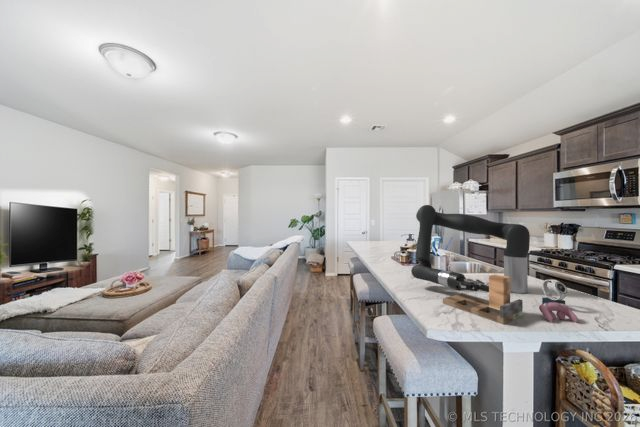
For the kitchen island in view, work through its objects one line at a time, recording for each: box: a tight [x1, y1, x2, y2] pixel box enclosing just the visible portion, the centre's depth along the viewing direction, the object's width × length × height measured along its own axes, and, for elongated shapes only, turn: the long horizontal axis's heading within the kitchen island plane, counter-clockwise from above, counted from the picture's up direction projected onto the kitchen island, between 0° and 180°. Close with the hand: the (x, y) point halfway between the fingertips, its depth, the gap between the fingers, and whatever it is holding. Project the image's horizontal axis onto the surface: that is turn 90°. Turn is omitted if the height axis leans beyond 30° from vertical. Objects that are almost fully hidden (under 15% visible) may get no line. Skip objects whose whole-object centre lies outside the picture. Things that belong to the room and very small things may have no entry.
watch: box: [541, 279, 568, 305], centre depth 100 cm, size 6×8×11 cm
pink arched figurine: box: [538, 302, 579, 324], centre depth 89 cm, size 10×5×7 cm, turn 86°
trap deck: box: [442, 292, 524, 325], centre depth 98 cm, size 14×23×6 cm, turn 29°
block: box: [488, 274, 511, 309], centre depth 95 cm, size 5×5×12 cm
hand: (492, 289), depth 97 cm, fingers closed
